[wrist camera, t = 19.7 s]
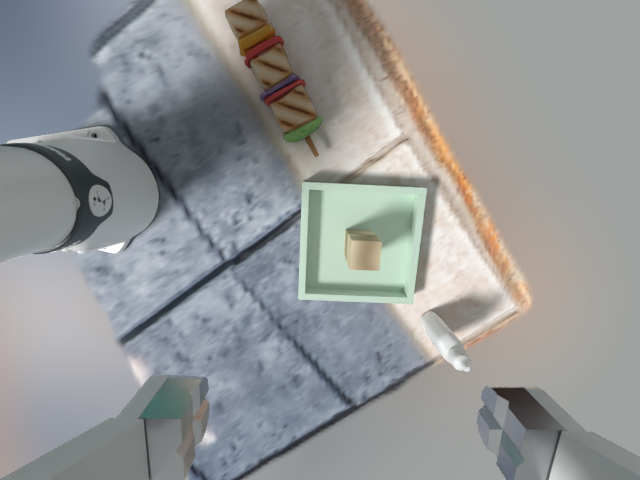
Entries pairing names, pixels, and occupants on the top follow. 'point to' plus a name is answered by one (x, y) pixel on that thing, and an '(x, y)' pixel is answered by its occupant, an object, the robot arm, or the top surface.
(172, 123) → the top surface
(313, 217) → the tray
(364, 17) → the top surface
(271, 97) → the skewer
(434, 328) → the eye dropper bottle
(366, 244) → the birch block
